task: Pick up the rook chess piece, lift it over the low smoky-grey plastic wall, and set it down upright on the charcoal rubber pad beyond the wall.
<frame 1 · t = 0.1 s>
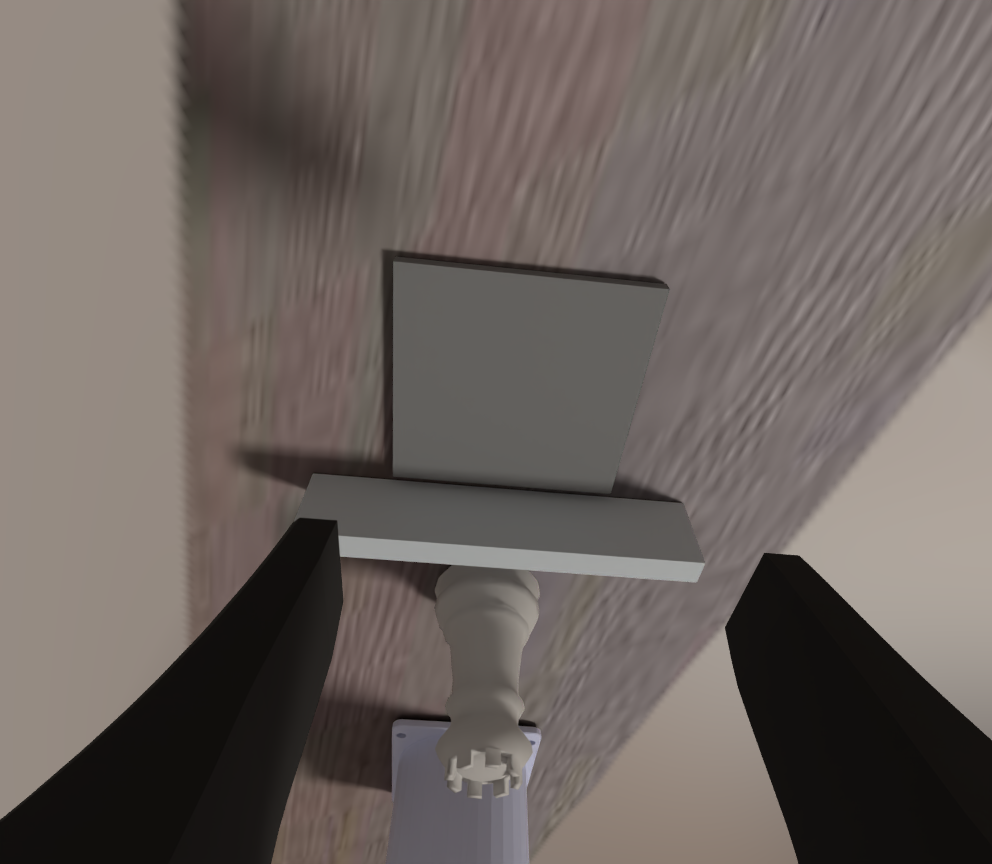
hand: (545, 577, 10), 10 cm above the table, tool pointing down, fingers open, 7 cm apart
grey acrylic wall: (499, 498, 23), on the table
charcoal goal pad: (515, 386, 20), on the table
rook chess piece: (487, 580, 26), on the table
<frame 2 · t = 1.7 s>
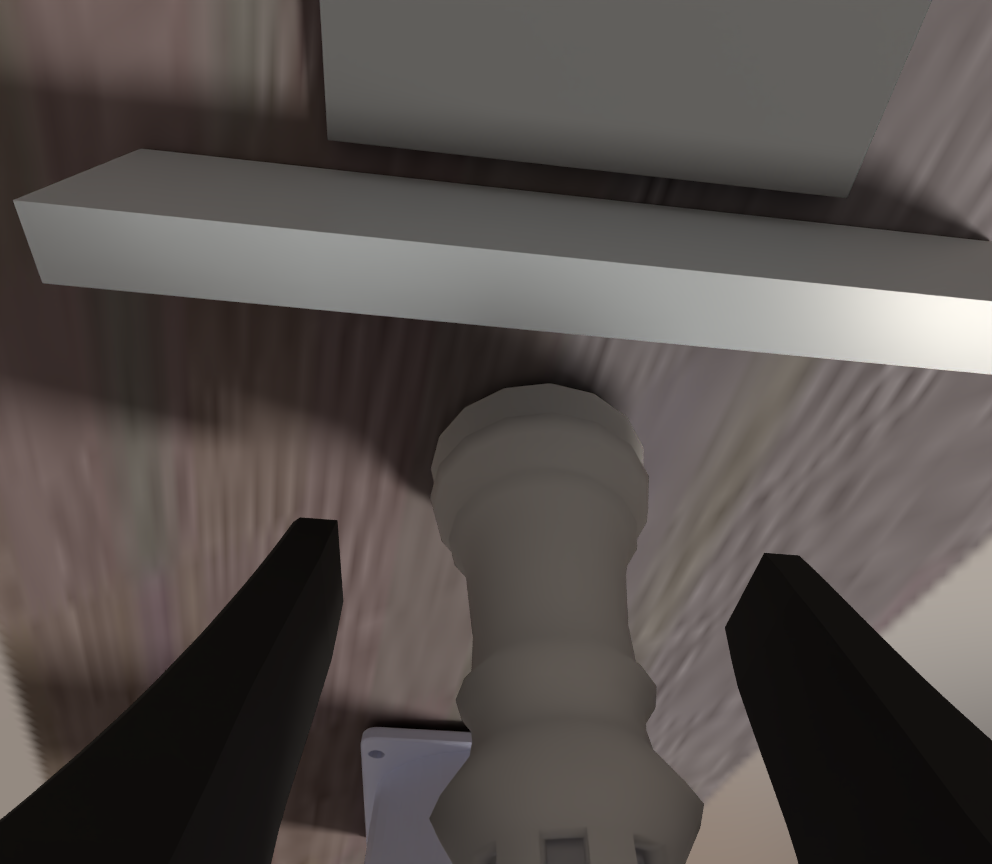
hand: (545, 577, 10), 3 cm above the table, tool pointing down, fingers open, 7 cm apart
grey acrylic wall: (578, 228, 10), on the table
rook chess piece: (535, 454, 13), on the table
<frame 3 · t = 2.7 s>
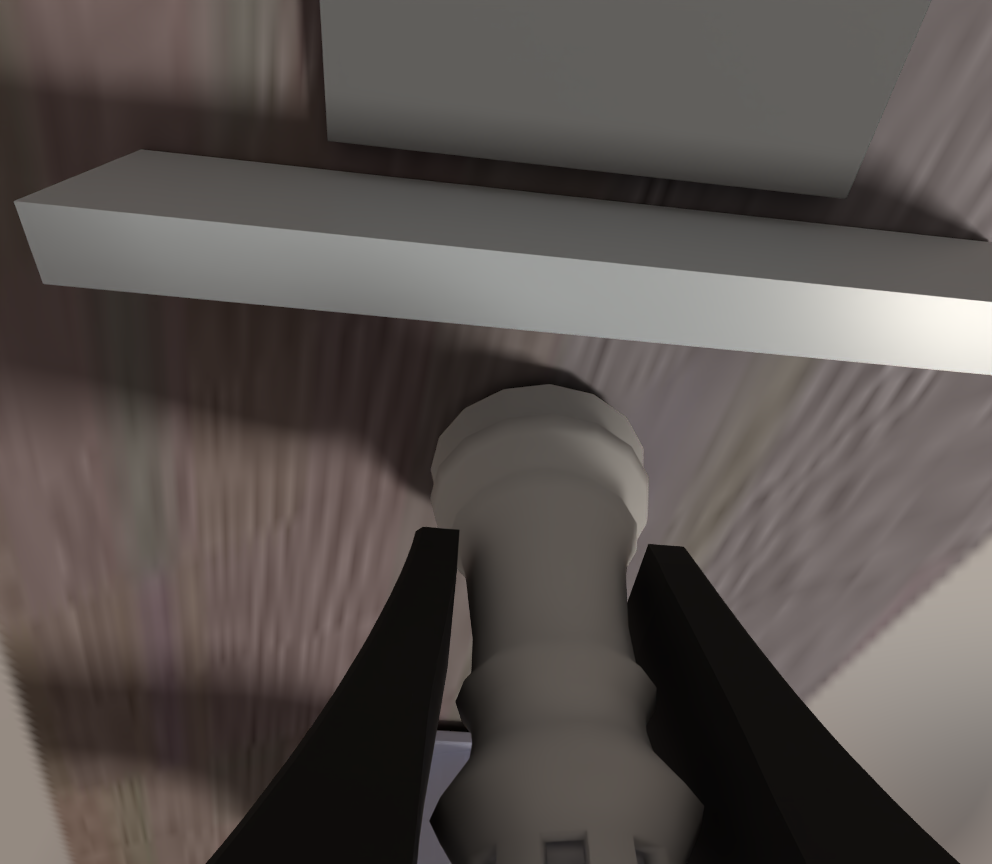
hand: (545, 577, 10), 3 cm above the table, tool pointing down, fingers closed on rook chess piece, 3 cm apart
grey acrylic wall: (578, 228, 10), on the table
rook chess piece: (535, 455, 13), on the table, touching gripper
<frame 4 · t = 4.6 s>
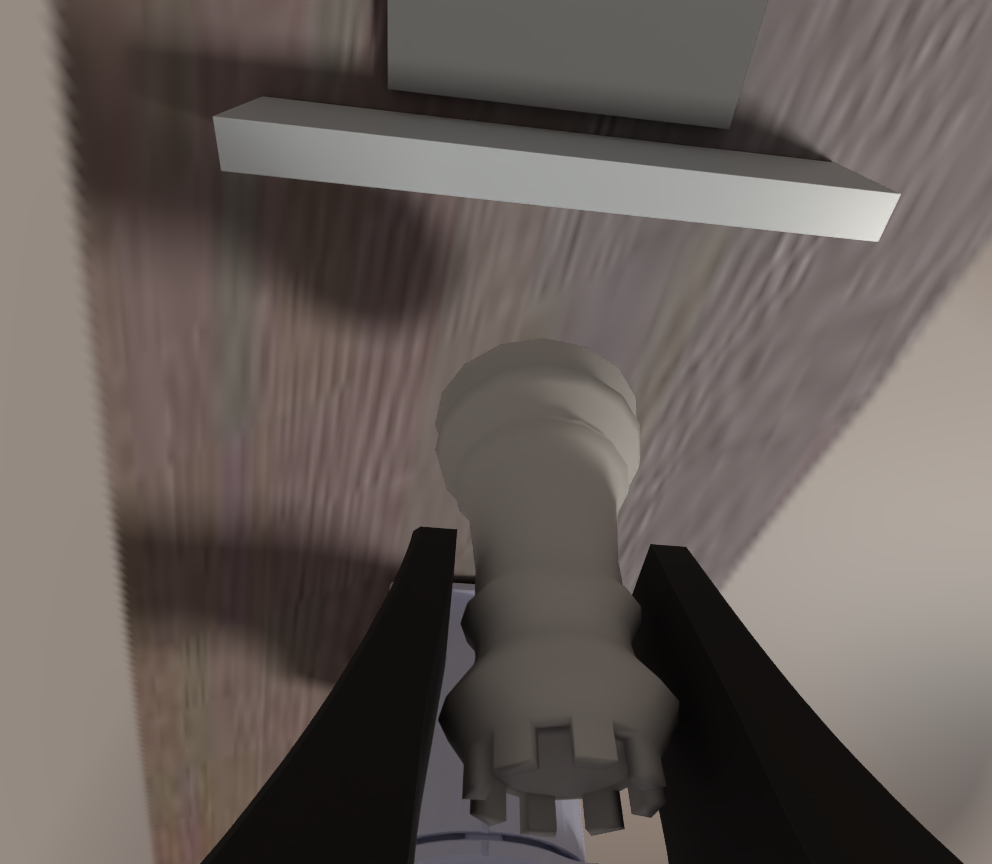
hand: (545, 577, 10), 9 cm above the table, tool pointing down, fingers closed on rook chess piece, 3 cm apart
grey acrylic wall: (553, 152, 15), on the table
rook chess piece: (534, 408, 14), point 4 cm above the table, touching gripper
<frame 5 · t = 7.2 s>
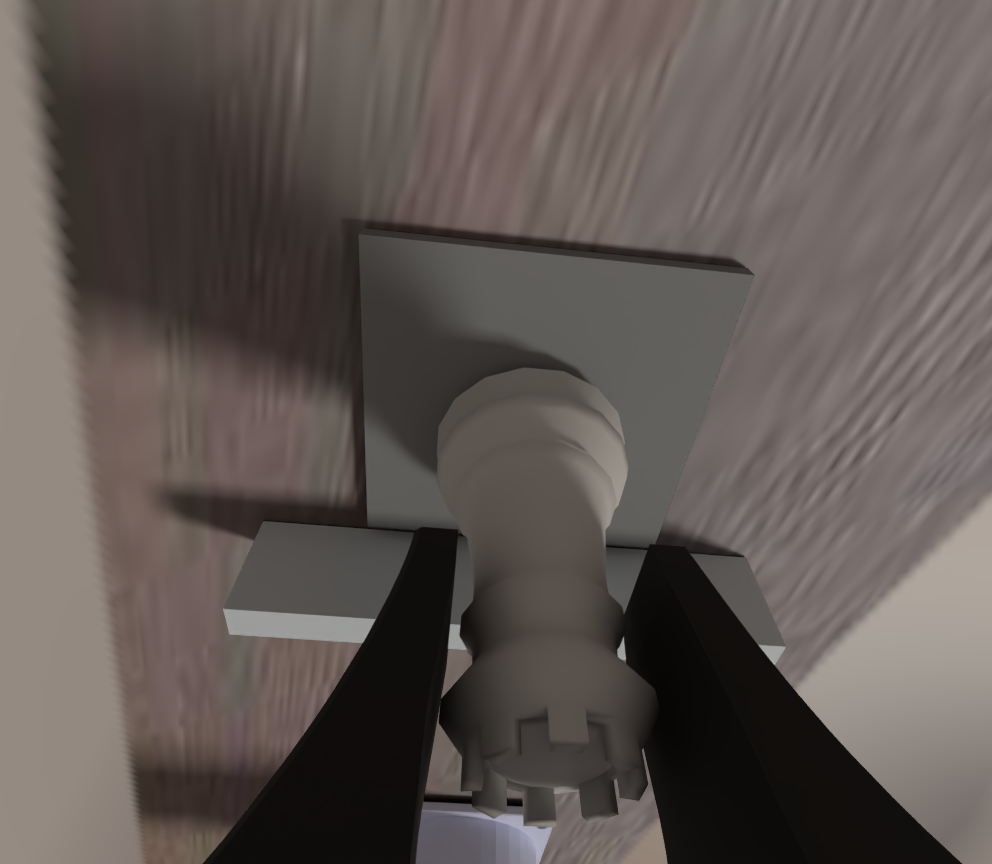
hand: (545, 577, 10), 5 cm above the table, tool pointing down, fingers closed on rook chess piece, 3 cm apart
grey acrylic wall: (508, 551, 17), on the table
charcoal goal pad: (531, 410, 15), on the table
rook chess piece: (528, 432, 15), resting on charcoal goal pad, touching gripper
when the fingers open (5 cm above the table, at t = 8.0 s): rook chess piece stays where it is, resting on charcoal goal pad.
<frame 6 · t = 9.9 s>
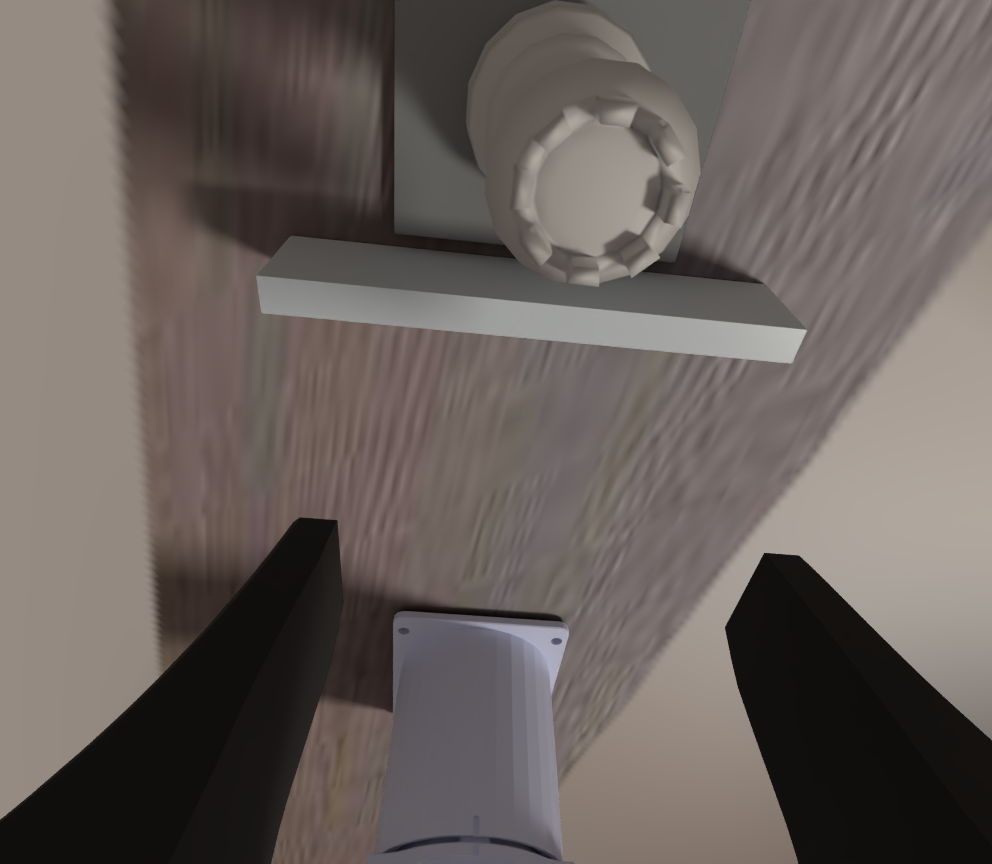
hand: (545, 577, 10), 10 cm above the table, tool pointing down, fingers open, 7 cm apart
grey acrylic wall: (531, 276, 18), on the table
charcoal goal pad: (558, 84, 15), on the table
rook chess piece: (555, 109, 15), resting on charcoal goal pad
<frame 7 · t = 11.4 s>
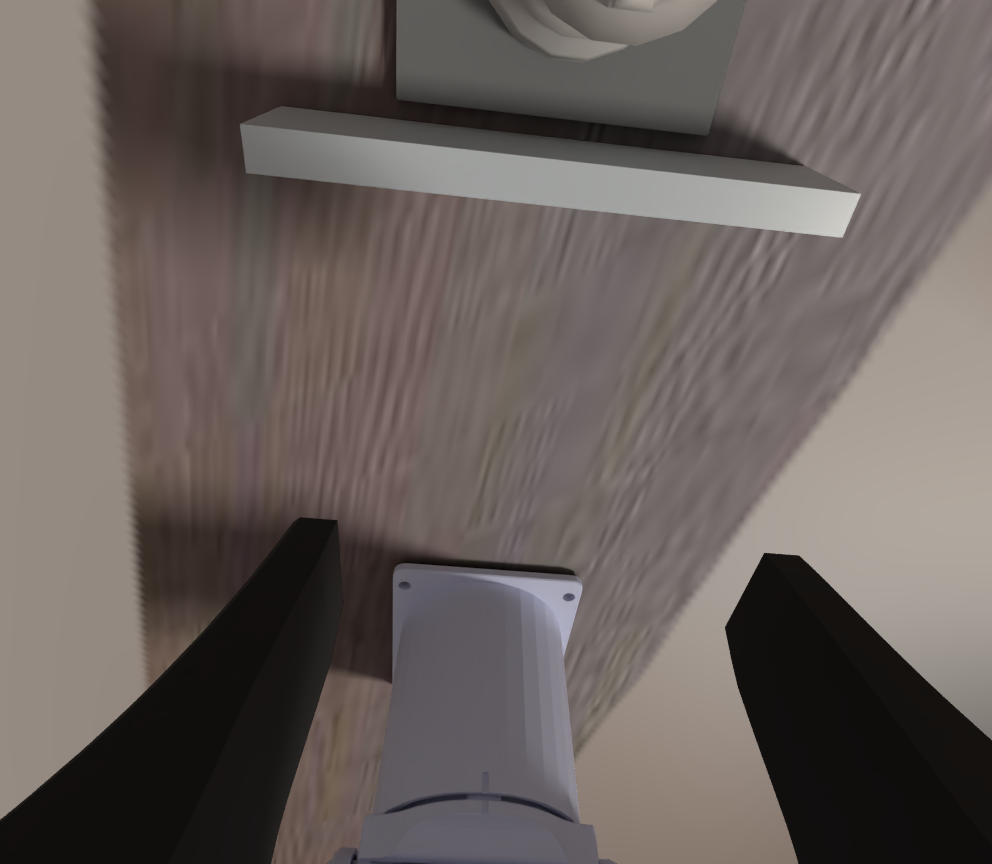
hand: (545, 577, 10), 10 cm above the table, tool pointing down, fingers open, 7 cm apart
grey acrylic wall: (547, 157, 16), on the table
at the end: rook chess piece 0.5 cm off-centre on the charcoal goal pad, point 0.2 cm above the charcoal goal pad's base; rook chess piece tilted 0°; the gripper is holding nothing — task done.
